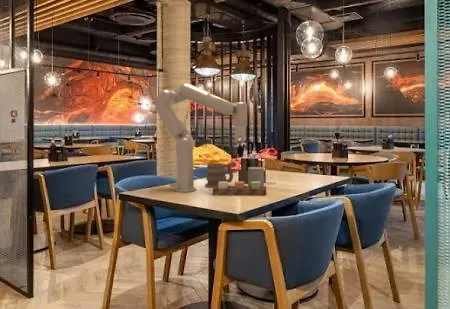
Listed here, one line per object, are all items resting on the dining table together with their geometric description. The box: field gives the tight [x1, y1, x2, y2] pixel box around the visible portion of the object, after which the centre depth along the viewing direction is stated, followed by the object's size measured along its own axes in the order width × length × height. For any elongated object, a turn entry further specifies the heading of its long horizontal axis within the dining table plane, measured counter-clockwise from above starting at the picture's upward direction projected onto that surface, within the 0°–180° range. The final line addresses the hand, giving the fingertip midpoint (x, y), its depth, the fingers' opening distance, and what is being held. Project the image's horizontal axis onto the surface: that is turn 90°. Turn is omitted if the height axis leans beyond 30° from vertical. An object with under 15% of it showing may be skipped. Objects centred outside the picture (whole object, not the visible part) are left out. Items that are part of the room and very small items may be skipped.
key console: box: [211, 185, 267, 196], centre depth 227 cm, size 29×10×4 cm, turn 86°
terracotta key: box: [234, 180, 245, 189], centre depth 227 cm, size 5×5×4 cm
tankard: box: [204, 161, 237, 189], centre depth 253 cm, size 20×13×15 cm, turn 112°
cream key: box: [218, 181, 229, 188], centre depth 227 cm, size 5×5×4 cm
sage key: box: [251, 181, 260, 189], centre depth 226 cm, size 5×5×4 cm
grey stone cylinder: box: [247, 166, 265, 186], centre depth 244 cm, size 10×10×12 cm
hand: (240, 153), depth 237 cm, fingers open, 9 cm apart
